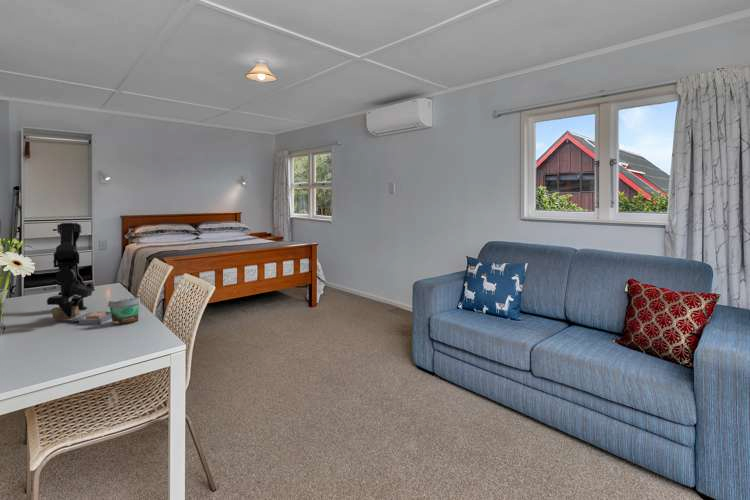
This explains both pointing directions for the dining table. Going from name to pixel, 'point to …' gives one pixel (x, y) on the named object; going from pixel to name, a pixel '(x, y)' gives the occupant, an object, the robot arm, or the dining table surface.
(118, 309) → the food container
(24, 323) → the dining table surface
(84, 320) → the frame
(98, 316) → the salmon pink box
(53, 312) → the turner
